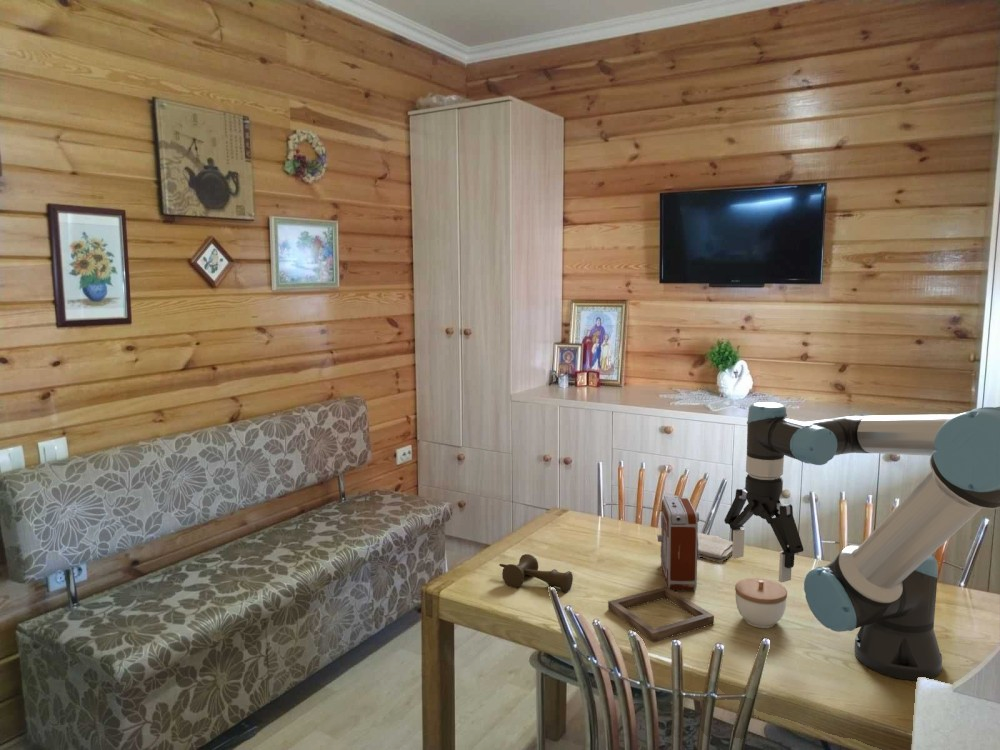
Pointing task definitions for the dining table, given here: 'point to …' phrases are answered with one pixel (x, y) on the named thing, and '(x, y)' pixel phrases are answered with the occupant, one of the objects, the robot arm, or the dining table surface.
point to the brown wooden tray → (662, 632)
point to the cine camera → (679, 543)
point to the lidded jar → (760, 601)
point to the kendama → (534, 574)
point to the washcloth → (714, 547)
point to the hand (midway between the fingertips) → (760, 568)
